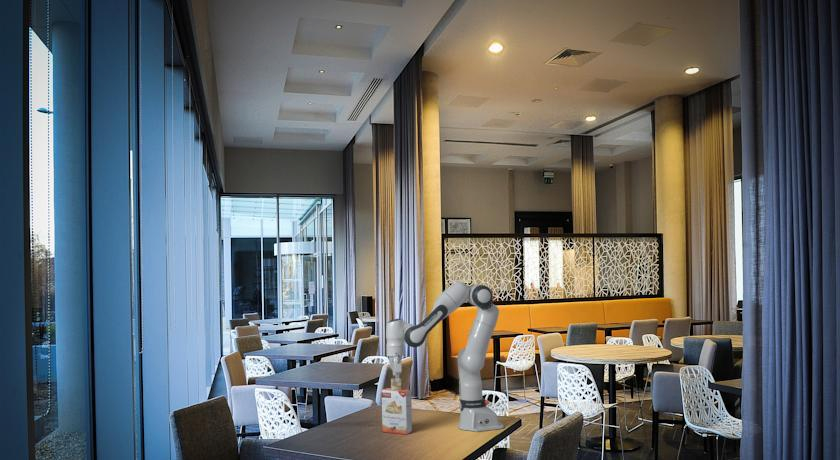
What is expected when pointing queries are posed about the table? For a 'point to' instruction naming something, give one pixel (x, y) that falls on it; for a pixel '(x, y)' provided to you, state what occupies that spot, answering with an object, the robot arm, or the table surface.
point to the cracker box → (396, 411)
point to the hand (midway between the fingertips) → (396, 380)
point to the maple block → (395, 384)
